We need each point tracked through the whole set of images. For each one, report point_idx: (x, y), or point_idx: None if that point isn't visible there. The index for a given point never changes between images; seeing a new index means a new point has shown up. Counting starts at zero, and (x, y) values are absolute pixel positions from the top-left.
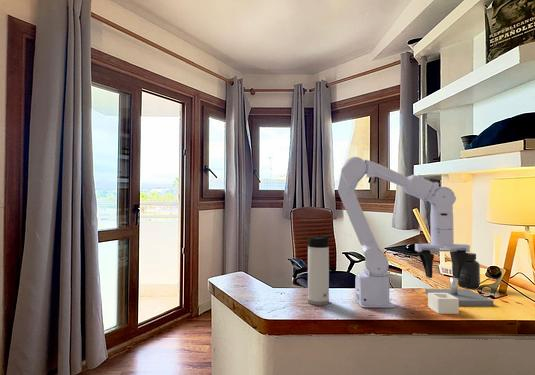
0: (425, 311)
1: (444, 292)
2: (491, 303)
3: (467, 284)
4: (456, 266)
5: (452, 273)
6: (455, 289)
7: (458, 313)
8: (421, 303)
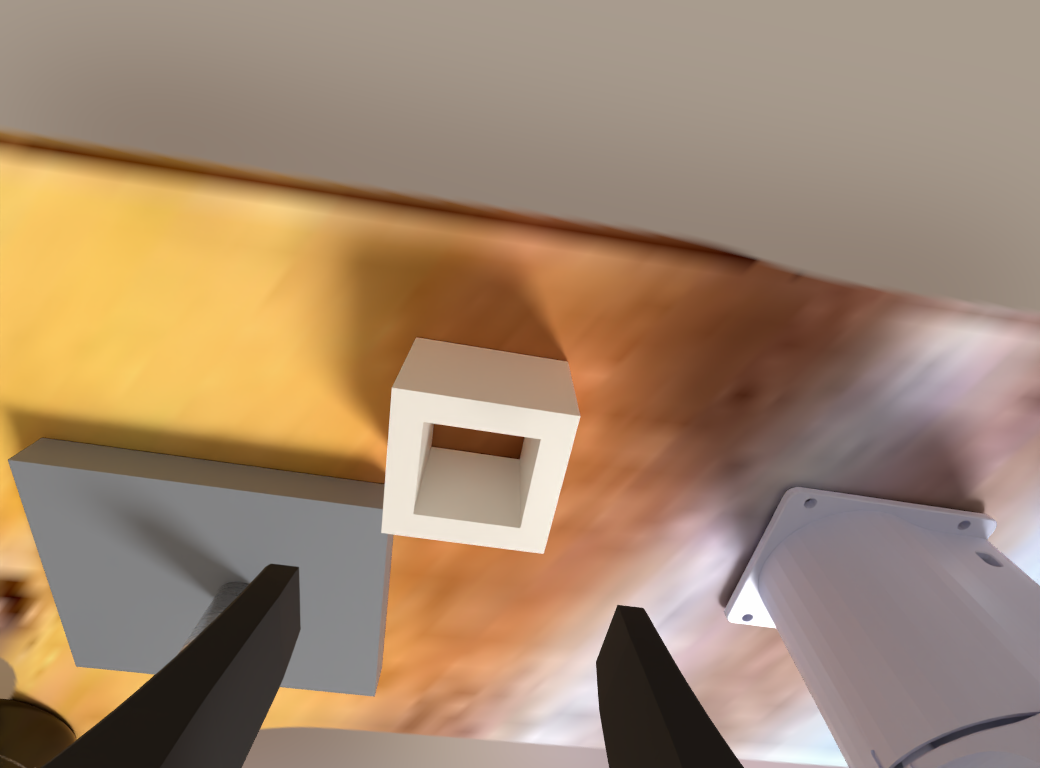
0: (625, 410)
1: None
2: (42, 448)
3: (23, 734)
4: (212, 738)
5: (285, 668)
6: None
7: (418, 338)
8: None
